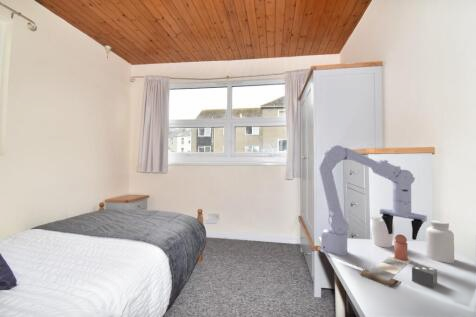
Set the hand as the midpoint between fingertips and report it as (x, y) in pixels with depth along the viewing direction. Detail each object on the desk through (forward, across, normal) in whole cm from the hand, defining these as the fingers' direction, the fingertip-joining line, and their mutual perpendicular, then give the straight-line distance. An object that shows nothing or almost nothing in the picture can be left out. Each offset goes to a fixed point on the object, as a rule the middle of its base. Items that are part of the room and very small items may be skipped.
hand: (401, 236), depth 84 cm
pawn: (+8, 0, 0) cm, 8 cm away
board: (+9, 0, +10) cm, 14 cm away
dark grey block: (+9, -10, +14) cm, 20 cm away
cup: (+10, +11, -10) cm, 18 cm away
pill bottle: (+10, -8, -13) cm, 18 cm away
